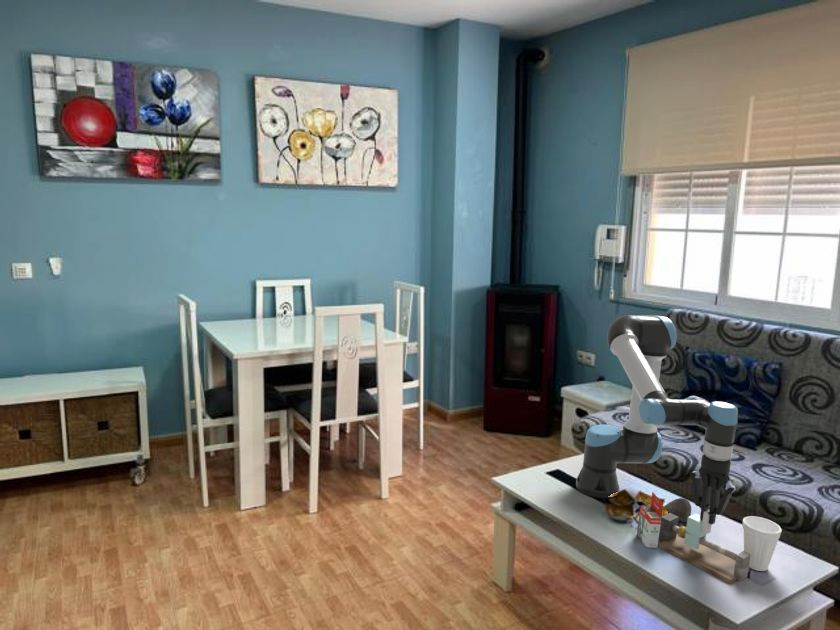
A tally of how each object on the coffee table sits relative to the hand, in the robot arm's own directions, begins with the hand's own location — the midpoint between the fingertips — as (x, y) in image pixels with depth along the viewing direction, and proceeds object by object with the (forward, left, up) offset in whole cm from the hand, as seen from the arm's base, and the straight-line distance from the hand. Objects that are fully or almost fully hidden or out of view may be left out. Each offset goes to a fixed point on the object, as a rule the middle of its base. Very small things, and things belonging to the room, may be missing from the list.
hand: (705, 532), depth 179 cm
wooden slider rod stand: (0, 0, -8) cm, 8 cm away
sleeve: (-3, 0, -5) cm, 6 cm away
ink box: (-15, -6, -9) cm, 18 cm away
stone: (-18, +17, -9) cm, 26 cm away
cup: (+11, +10, -9) cm, 17 cm away
